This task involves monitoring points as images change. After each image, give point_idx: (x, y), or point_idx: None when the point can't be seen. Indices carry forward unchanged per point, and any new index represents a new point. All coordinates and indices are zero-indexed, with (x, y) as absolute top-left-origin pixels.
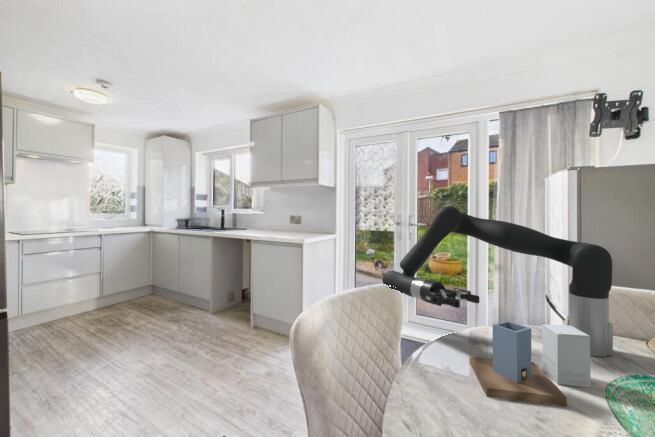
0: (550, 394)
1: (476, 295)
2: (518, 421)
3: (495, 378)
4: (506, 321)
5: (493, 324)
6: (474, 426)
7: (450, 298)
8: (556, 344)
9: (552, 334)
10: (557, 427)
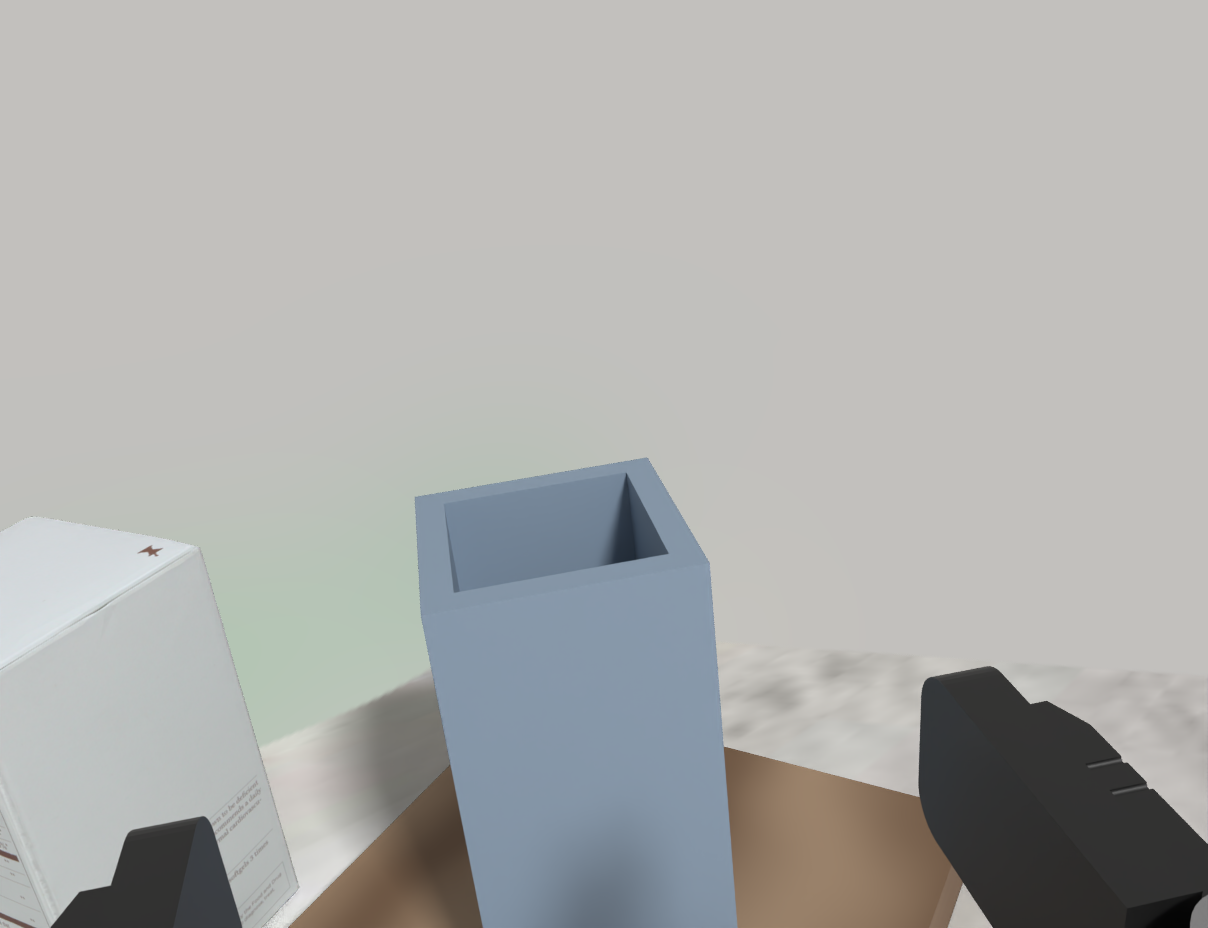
0: None
1: (125, 867)
2: (911, 697)
3: (807, 890)
4: (454, 602)
5: (698, 563)
6: (1193, 696)
7: (1122, 809)
8: (216, 637)
9: (150, 613)
10: (744, 658)
